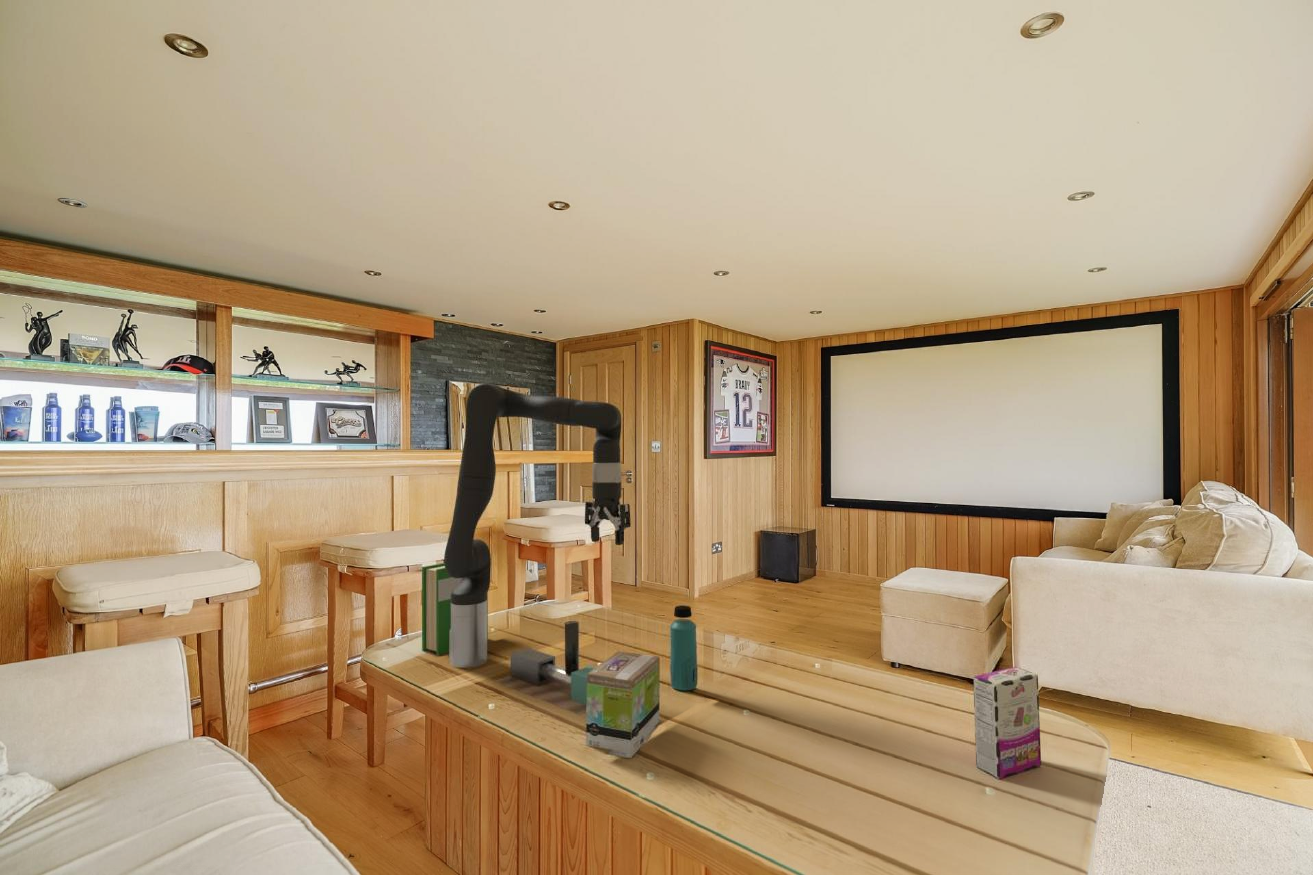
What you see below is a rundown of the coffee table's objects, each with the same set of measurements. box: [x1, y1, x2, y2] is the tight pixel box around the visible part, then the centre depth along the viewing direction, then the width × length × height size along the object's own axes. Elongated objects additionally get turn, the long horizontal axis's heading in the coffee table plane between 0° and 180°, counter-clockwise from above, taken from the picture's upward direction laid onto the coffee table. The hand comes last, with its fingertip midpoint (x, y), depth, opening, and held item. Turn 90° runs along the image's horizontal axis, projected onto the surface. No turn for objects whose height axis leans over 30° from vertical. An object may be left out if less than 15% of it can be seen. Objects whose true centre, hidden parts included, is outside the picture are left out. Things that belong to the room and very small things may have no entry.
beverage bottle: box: [669, 605, 699, 691], centre depth 147 cm, size 6×7×20 cm
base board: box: [494, 675, 587, 715], centre depth 147 cm, size 30×14×1 cm, turn 50°
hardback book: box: [421, 562, 489, 656], centre depth 183 cm, size 18×7×24 cm, turn 146°
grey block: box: [509, 647, 556, 687], centre depth 153 cm, size 10×5×6 cm, turn 50°
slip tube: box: [540, 620, 580, 687], centre depth 145 cm, size 20×3×15 cm, turn 50°
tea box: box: [585, 650, 661, 759], centre depth 123 cm, size 15×10×15 cm, turn 160°
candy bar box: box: [972, 666, 1042, 780], centre depth 111 cm, size 11×5×16 cm, turn 114°
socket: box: [571, 665, 597, 706], centre depth 140 cm, size 7×6×6 cm
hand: (607, 543), depth 160 cm, fingers open, 8 cm apart
